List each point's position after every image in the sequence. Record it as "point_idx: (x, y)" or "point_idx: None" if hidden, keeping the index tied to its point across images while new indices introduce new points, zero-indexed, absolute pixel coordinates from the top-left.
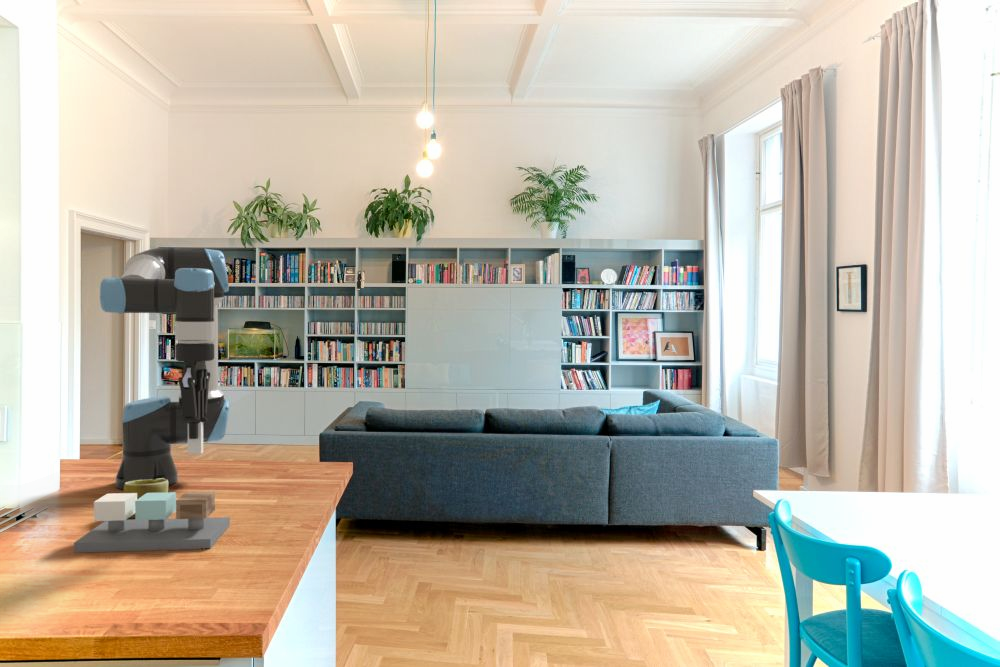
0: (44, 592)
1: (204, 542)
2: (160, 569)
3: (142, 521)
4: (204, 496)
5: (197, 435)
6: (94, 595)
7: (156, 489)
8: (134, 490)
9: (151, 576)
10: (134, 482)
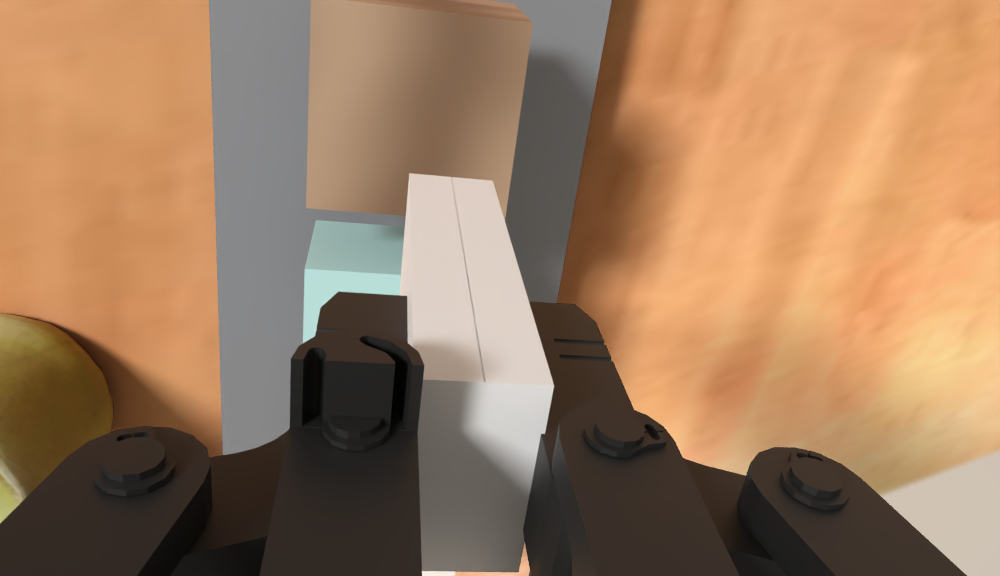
0: (868, 430)
1: None
2: (807, 125)
3: (260, 361)
4: (445, 51)
5: (535, 321)
6: (966, 283)
7: (4, 424)
8: None
9: (872, 141)
10: None
